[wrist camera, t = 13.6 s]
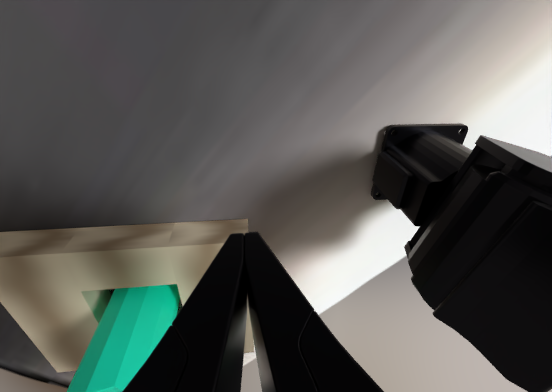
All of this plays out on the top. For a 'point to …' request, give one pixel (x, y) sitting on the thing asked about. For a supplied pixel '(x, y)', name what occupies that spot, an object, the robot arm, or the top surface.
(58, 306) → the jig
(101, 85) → the top surface
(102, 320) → the candle
